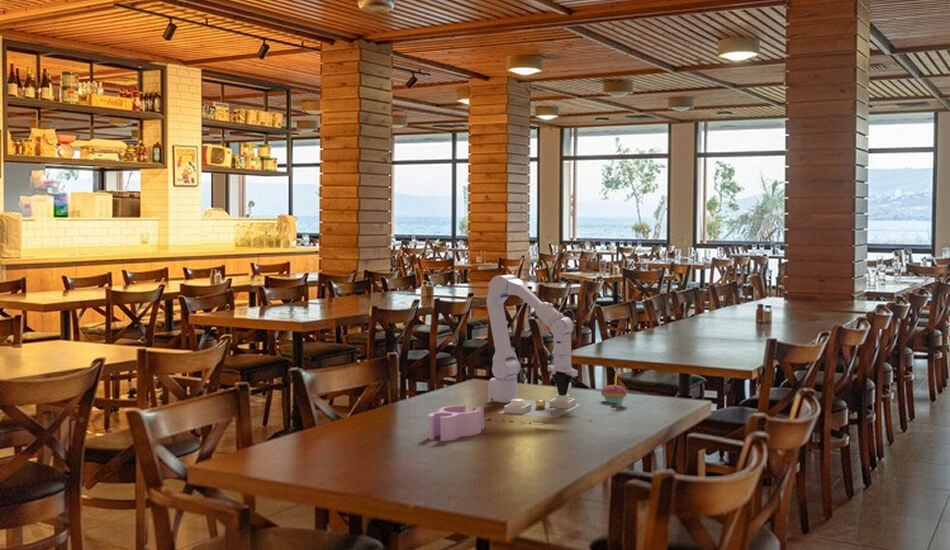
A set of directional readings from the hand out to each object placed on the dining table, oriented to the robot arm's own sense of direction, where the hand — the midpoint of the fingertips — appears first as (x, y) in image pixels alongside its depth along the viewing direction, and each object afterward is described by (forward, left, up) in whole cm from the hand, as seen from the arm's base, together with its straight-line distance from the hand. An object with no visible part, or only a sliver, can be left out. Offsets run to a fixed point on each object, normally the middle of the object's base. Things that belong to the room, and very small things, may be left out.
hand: (562, 395), depth 325 cm
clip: (-17, -45, -5) cm, 48 cm away
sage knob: (0, 0, -3) cm, 3 cm away
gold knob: (-5, -7, -3) cm, 9 cm away
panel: (-5, -7, -5) cm, 10 cm away
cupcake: (+13, +14, -5) cm, 20 cm away
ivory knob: (-10, -14, -3) cm, 18 cm away
